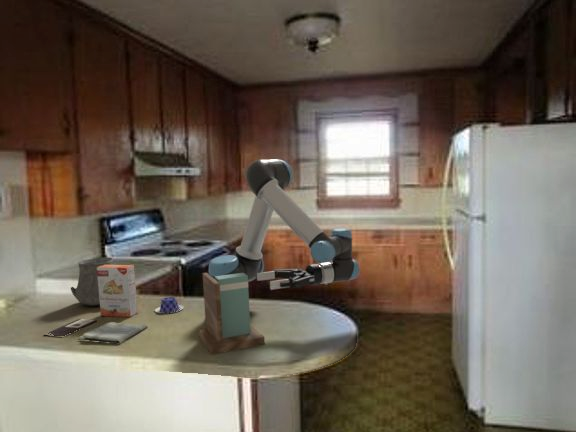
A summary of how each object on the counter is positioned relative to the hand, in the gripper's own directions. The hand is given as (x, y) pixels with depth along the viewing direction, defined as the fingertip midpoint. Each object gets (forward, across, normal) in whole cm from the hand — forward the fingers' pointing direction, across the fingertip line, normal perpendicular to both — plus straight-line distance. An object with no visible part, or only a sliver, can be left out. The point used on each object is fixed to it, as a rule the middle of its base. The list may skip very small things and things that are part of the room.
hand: (263, 281), depth 163 cm
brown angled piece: (+12, 0, -19) cm, 23 cm away
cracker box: (+46, +51, -20) cm, 72 cm away
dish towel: (+49, +28, -21) cm, 60 cm away
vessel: (+54, +75, -20) cm, 95 cm away
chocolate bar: (+64, +43, -21) cm, 80 cm away
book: (+11, 0, -17) cm, 20 cm away
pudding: (+26, +48, -20) cm, 59 cm away
